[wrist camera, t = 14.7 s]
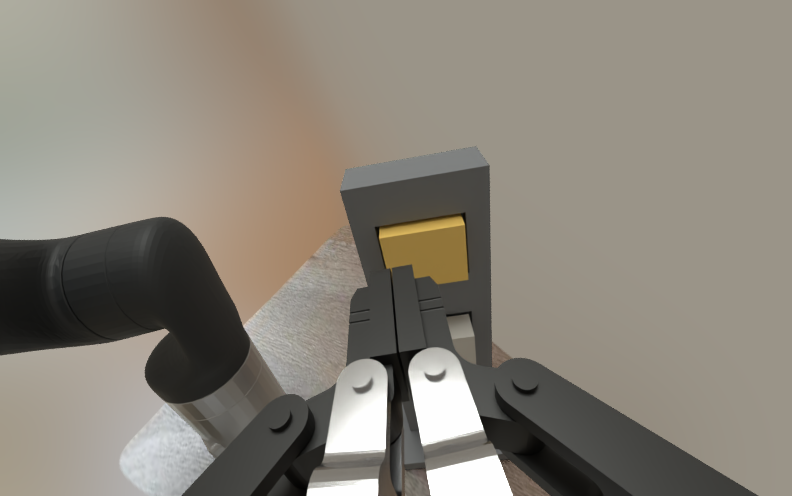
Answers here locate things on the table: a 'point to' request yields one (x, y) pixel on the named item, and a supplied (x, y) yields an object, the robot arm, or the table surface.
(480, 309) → the keypad panel
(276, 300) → the table surface
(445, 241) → the key top
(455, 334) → the key middle
